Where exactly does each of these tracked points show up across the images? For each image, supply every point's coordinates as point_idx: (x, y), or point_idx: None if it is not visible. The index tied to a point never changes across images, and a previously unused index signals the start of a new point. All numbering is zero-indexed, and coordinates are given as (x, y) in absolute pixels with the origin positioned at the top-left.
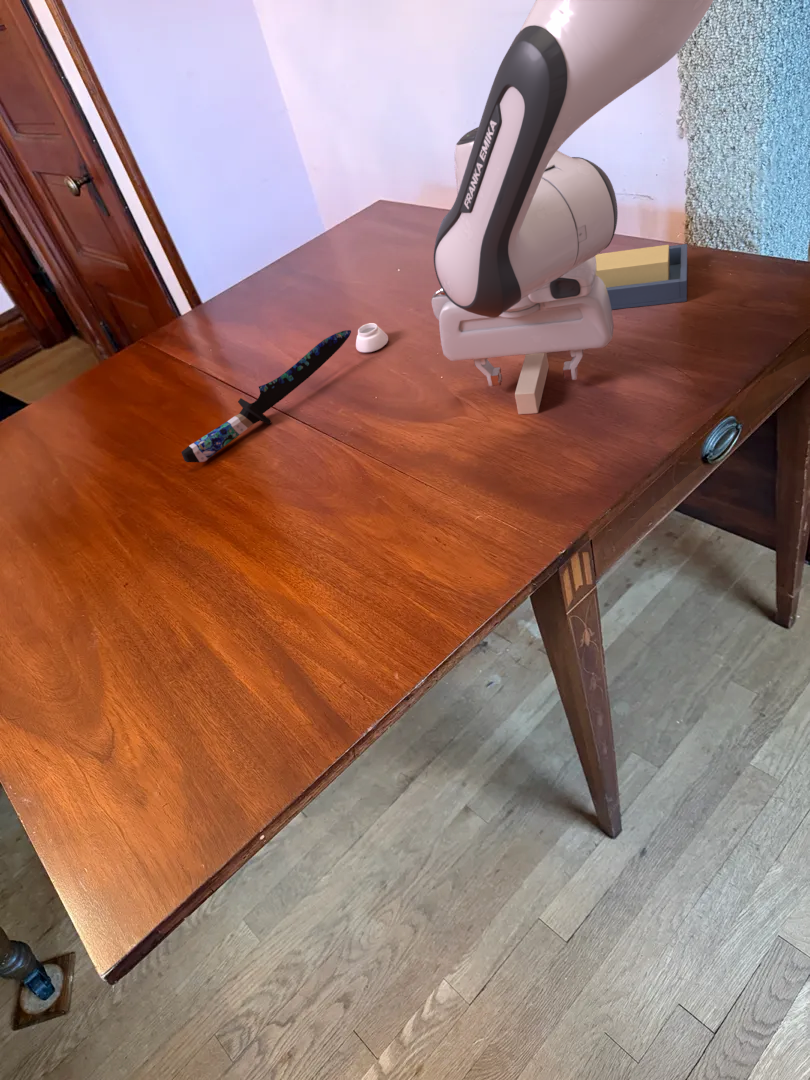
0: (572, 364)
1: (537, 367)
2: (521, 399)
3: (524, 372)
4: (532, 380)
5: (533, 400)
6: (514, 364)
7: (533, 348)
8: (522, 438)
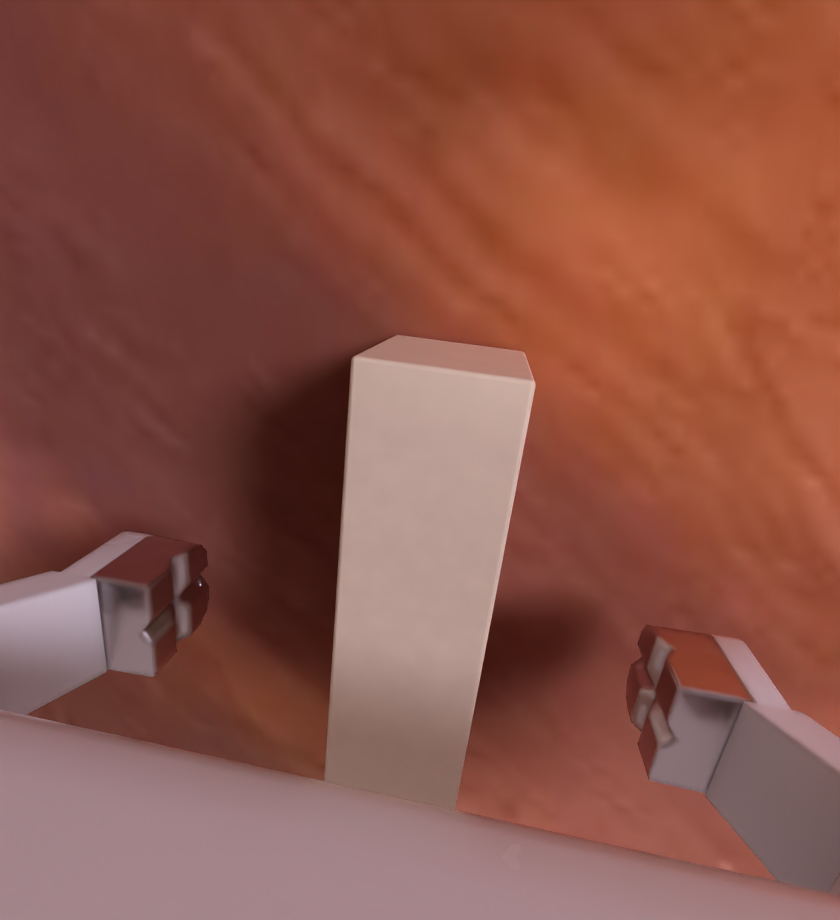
0: (35, 593)
1: (353, 689)
2: (482, 365)
3: (449, 662)
4: (379, 541)
5: (387, 347)
6: (539, 820)
7: (155, 837)
8: (500, 29)
